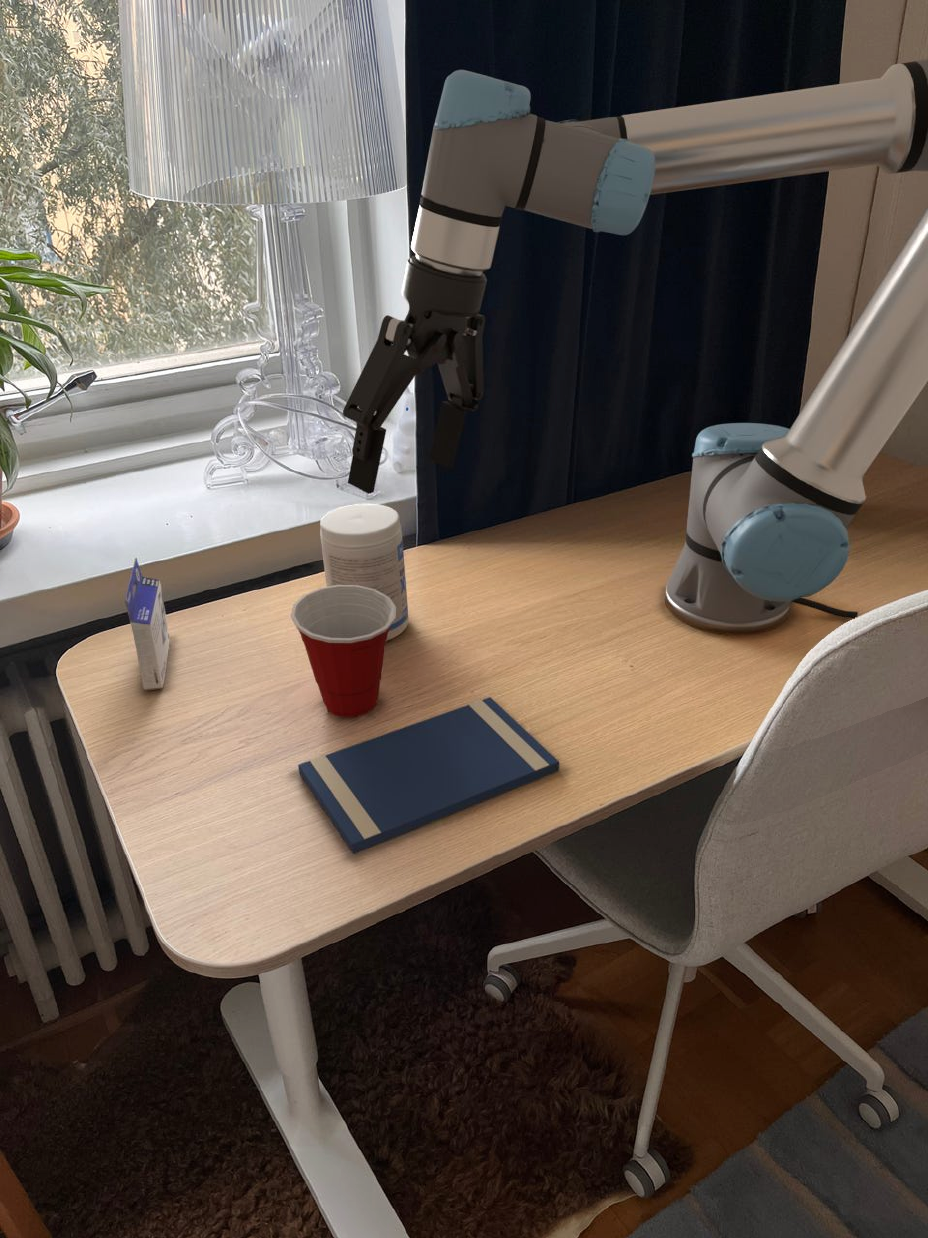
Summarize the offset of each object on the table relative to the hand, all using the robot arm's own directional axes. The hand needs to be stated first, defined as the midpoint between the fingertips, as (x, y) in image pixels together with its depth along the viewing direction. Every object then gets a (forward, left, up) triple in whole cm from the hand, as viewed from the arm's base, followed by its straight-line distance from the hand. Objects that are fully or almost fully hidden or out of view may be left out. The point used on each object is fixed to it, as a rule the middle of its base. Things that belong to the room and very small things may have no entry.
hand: (402, 475), depth 99 cm
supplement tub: (+8, -8, -24) cm, 26 cm away
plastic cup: (+5, +8, -24) cm, 26 cm away
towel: (-6, +18, -24) cm, 30 cm away
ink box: (+30, +4, -24) cm, 38 cm away
